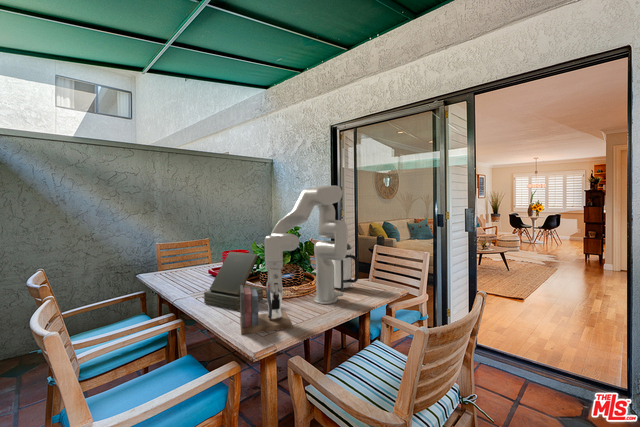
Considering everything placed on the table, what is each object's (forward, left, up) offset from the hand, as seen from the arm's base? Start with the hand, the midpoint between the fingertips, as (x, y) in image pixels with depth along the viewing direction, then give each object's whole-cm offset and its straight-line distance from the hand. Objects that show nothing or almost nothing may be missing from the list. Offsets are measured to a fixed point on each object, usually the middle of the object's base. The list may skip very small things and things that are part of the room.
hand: (274, 305), depth 127 cm
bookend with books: (+4, 0, -7) cm, 9 cm away
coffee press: (-47, -40, -8) cm, 62 cm away
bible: (+16, -36, -8) cm, 40 cm away
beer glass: (0, 0, -5) cm, 5 cm away
